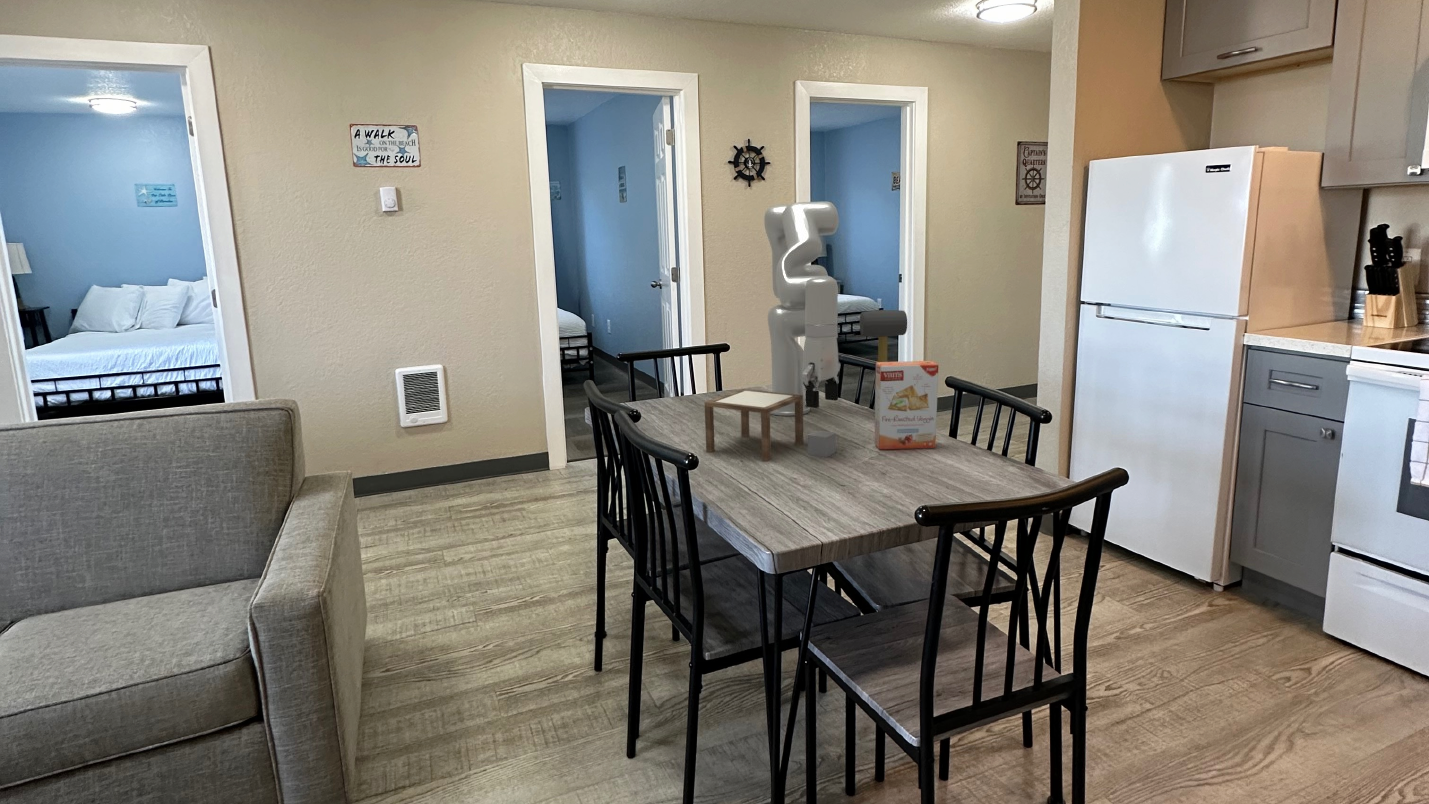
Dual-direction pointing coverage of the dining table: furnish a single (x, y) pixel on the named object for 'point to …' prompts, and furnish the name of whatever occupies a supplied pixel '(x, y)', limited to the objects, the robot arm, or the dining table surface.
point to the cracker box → (906, 404)
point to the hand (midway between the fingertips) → (822, 403)
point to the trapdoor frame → (745, 419)
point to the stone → (821, 443)
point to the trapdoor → (754, 398)
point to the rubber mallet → (883, 327)
